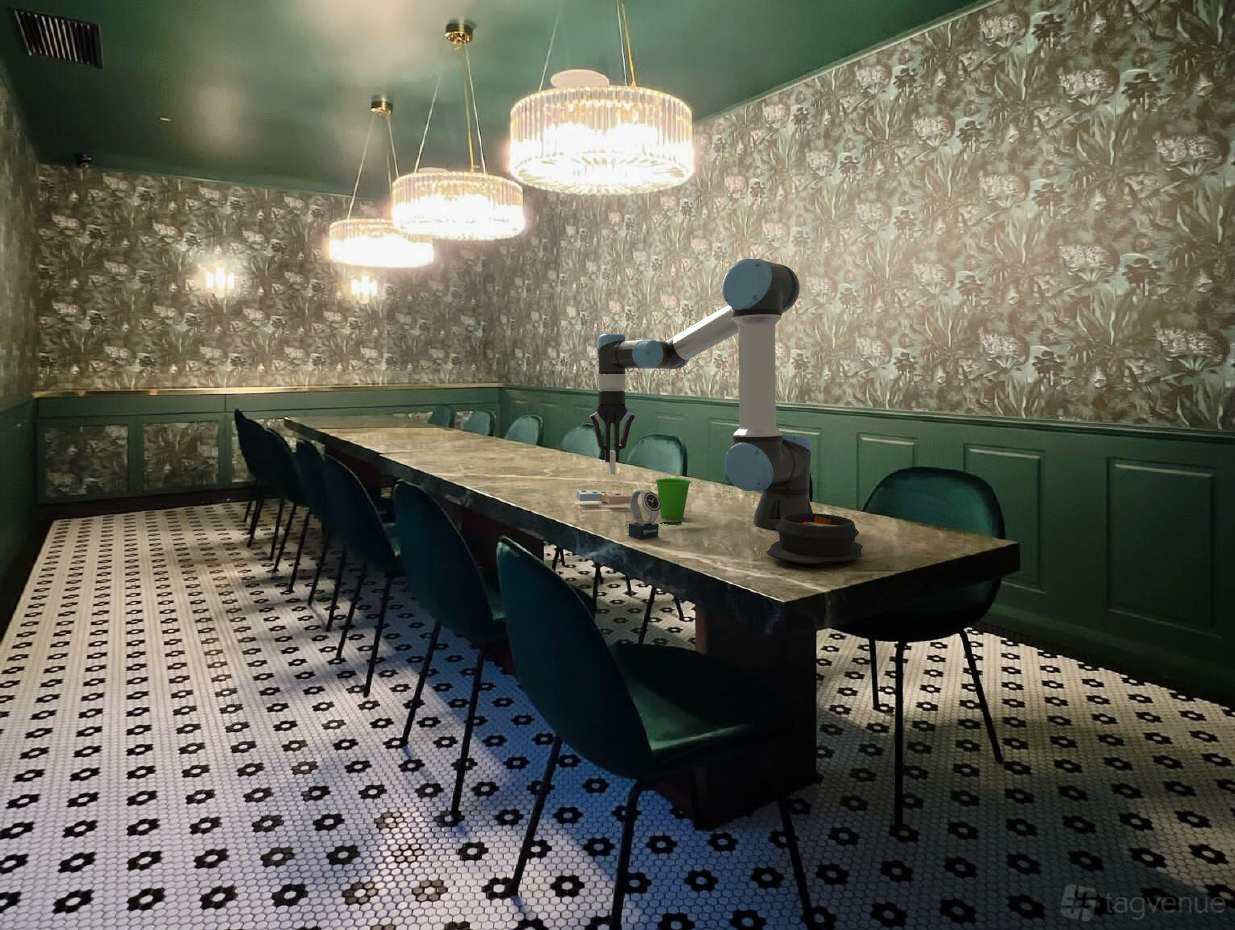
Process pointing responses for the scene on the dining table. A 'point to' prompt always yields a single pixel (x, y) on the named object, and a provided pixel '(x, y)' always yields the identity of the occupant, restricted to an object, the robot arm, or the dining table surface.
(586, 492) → the tile two
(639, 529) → the watch
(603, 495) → the tile three
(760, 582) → the dining table surface
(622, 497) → the tile one
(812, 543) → the casserole
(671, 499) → the cup
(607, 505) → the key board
